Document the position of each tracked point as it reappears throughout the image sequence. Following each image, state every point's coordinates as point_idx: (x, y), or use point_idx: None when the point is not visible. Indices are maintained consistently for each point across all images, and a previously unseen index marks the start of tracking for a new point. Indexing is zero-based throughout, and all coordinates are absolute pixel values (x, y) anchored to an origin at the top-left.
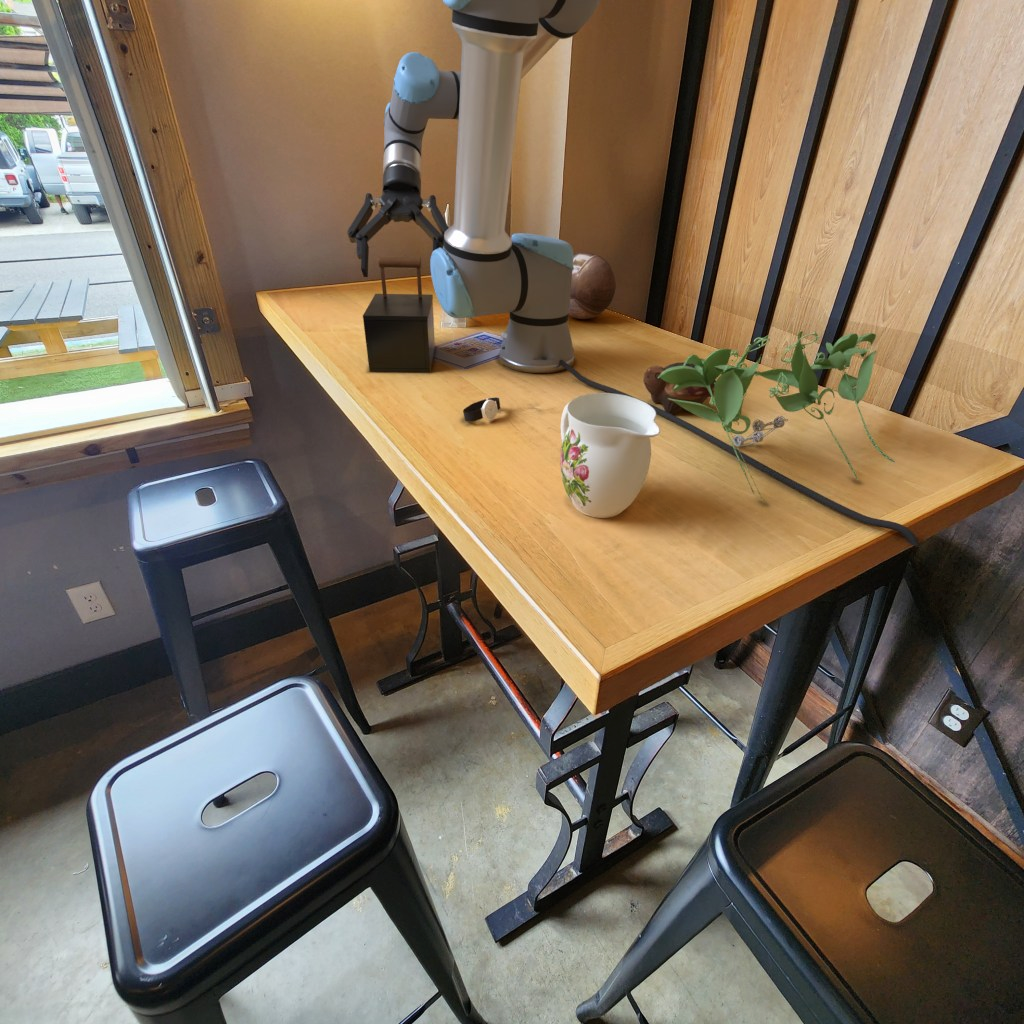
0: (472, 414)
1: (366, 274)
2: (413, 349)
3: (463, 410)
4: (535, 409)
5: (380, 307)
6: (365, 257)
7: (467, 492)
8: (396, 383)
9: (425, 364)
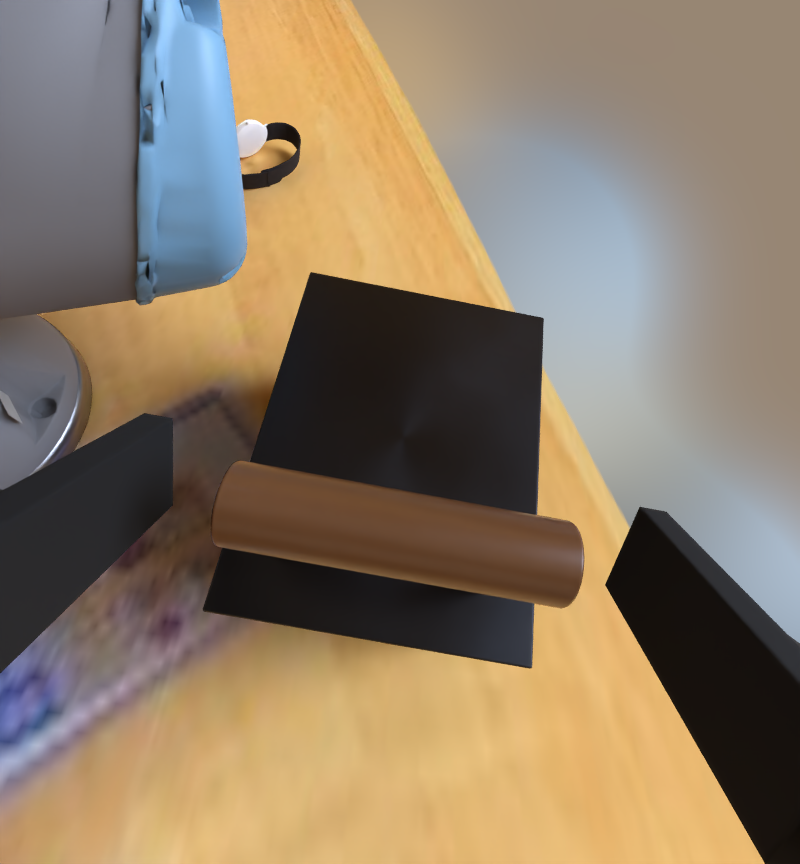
0: (287, 128)
1: (618, 560)
2: None
3: (298, 147)
4: None
5: (486, 404)
6: (689, 570)
7: (341, 35)
8: None
9: None
